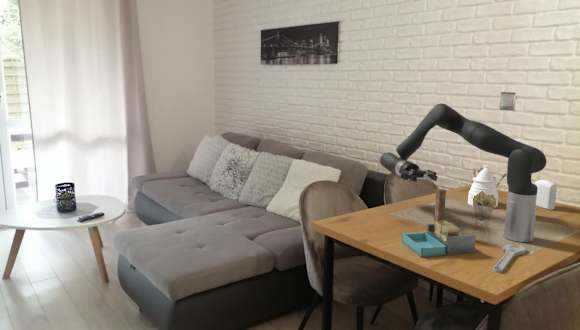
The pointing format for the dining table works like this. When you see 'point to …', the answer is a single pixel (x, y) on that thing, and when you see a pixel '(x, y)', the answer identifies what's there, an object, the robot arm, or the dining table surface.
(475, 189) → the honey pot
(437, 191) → the wooden post on base
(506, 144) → the robot arm
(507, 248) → the adjustable wrench
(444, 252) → the tray
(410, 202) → the dining table surface
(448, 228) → the brass block
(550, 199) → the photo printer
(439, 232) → the brass block
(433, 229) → the rail channel
